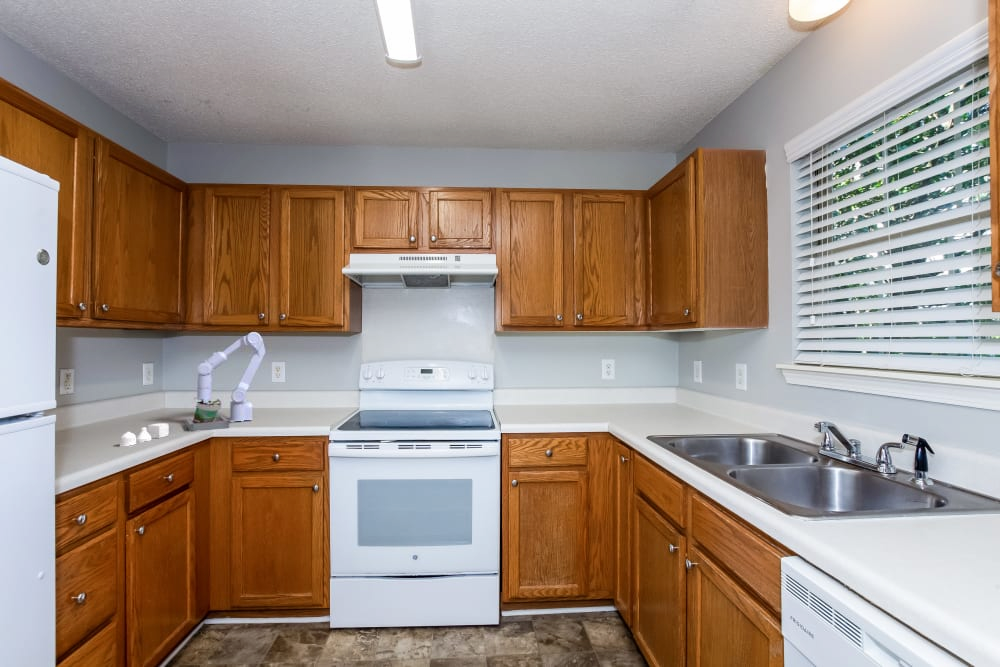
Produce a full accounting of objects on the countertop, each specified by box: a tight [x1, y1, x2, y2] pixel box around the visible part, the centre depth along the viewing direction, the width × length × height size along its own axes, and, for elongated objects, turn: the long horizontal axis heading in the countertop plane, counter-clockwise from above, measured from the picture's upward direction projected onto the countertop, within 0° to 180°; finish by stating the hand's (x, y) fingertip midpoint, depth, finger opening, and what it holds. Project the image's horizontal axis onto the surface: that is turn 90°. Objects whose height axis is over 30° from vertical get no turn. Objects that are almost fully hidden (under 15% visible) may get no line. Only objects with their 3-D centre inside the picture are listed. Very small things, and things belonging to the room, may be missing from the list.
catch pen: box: [185, 415, 230, 432], centre depth 218 cm, size 15×16×3 cm
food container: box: [192, 398, 222, 424], centre depth 224 cm, size 12×6×10 cm, turn 167°
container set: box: [119, 422, 170, 447], centre depth 188 cm, size 20×5×6 cm, turn 177°
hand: (203, 416), depth 227 cm, fingers closed
